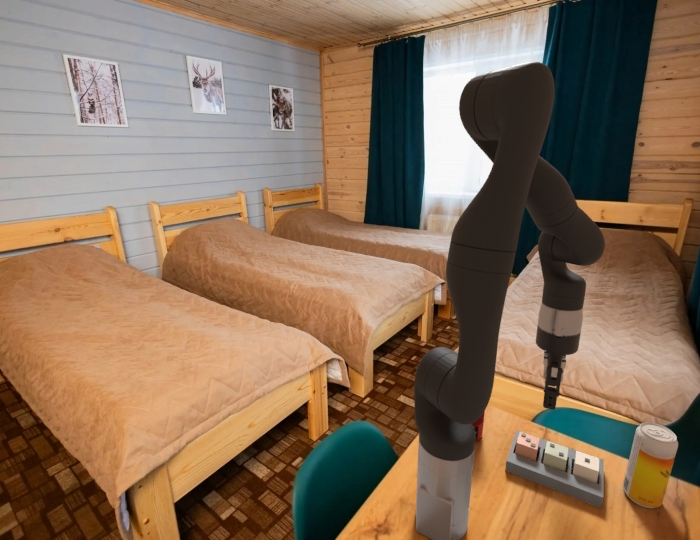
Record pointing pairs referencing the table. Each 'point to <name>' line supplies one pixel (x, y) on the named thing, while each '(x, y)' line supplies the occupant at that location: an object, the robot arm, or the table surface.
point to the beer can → (650, 464)
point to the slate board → (556, 474)
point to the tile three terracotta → (527, 446)
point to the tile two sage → (555, 456)
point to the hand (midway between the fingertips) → (549, 395)
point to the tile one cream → (586, 466)
